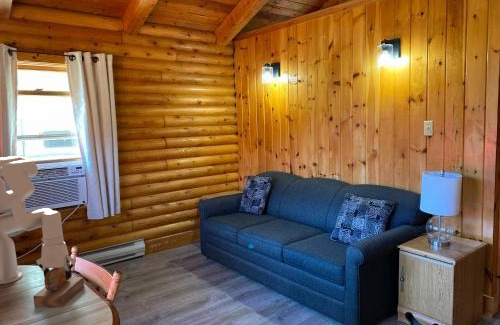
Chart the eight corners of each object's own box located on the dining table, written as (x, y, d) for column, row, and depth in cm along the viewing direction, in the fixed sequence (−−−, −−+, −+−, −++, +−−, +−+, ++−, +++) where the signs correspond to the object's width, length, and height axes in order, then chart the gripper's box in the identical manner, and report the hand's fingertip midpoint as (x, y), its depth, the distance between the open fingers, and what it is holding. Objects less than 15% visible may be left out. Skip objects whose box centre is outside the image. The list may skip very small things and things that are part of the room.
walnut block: (34, 307, 166) (33, 296, 165) (59, 287, 184) (58, 277, 183) (62, 307, 165) (60, 296, 164) (84, 287, 182) (83, 277, 182)
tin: (51, 294, 166) (49, 274, 165) (44, 294, 166) (41, 274, 165) (70, 278, 181) (68, 260, 180) (64, 278, 181) (62, 260, 180)
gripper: (28, 243, 168) (33, 282, 170) (68, 243, 166) (72, 282, 168) (39, 237, 175) (44, 274, 178) (77, 237, 173) (81, 274, 176)
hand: (58, 278), depth 173 cm, fingers open, 9 cm apart
